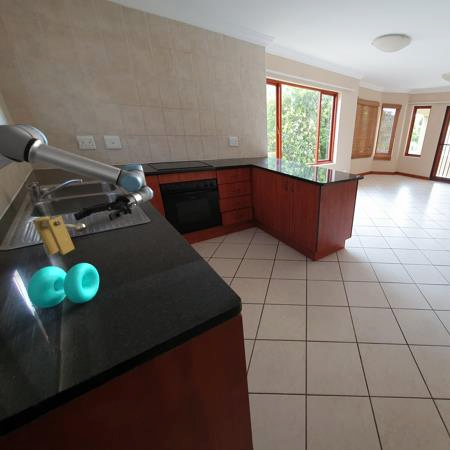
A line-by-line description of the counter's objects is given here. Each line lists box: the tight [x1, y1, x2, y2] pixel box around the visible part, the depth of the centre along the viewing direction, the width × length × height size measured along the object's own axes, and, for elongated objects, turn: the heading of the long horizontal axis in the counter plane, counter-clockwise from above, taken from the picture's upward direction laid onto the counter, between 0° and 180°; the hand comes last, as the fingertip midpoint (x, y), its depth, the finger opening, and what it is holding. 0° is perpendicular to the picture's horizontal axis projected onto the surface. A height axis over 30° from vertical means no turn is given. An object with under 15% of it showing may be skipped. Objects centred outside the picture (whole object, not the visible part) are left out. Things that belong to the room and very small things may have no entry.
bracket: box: [32, 215, 75, 256], centre depth 79 cm, size 10×8×14 cm
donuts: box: [27, 262, 100, 309], centre depth 59 cm, size 10×10×10 cm
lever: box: [41, 219, 87, 233], centre depth 83 cm, size 14×3×3 cm, turn 0°
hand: (93, 217), depth 94 cm, fingers open, 13 cm apart
